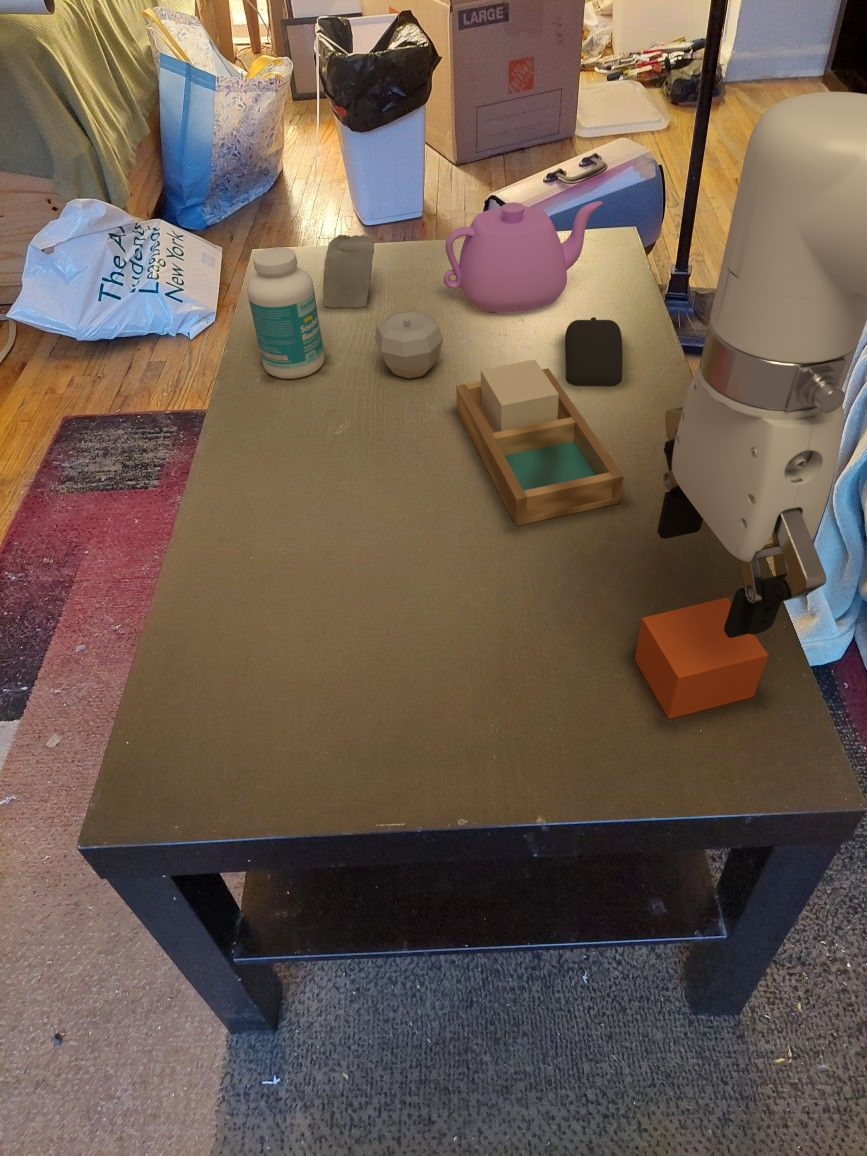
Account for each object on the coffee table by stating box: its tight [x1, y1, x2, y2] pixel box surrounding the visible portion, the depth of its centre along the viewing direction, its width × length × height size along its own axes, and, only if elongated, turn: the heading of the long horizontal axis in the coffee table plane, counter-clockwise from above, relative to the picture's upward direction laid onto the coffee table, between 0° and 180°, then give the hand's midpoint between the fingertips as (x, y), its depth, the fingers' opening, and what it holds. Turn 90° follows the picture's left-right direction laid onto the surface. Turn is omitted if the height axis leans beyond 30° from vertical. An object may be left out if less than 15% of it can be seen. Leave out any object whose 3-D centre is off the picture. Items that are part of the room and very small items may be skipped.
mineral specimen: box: [322, 234, 375, 309], centre depth 110 cm, size 7×9×8 cm
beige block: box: [480, 359, 559, 433], centre depth 87 cm, size 6×7×5 cm
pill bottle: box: [246, 246, 325, 380], centre depth 96 cm, size 8×7×14 cm
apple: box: [374, 310, 444, 380], centre depth 97 cm, size 8×8×7 cm
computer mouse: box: [564, 316, 623, 387], centre depth 97 cm, size 6×11×4 cm, turn 174°
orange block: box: [634, 597, 769, 720], centre depth 63 cm, size 7×6×5 cm
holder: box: [455, 367, 625, 527], centre depth 85 cm, size 10×20×3 cm, turn 15°
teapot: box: [443, 200, 604, 314], centre depth 106 cm, size 20×13×12 cm, turn 97°
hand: (710, 578), depth 58 cm, fingers open, 9 cm apart
